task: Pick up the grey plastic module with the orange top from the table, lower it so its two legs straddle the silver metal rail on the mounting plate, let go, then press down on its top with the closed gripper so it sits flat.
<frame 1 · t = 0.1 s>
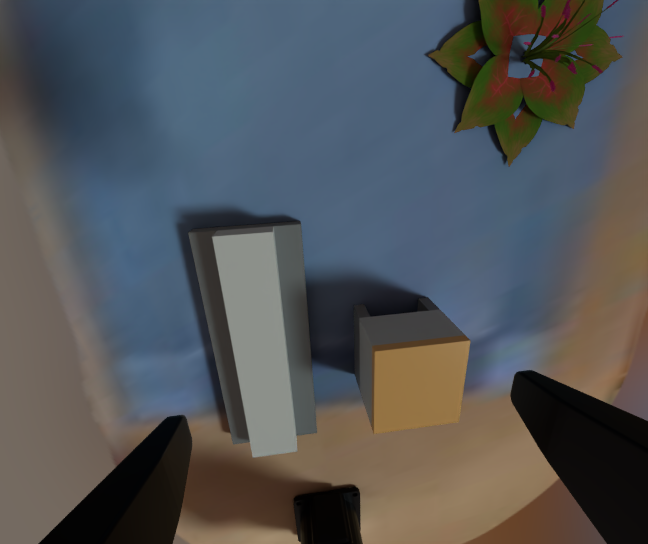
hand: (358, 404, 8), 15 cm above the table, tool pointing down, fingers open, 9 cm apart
module: (390, 337, 25), on the table
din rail: (263, 340, 24), on the table
lily flower: (518, 60, 20), on the table
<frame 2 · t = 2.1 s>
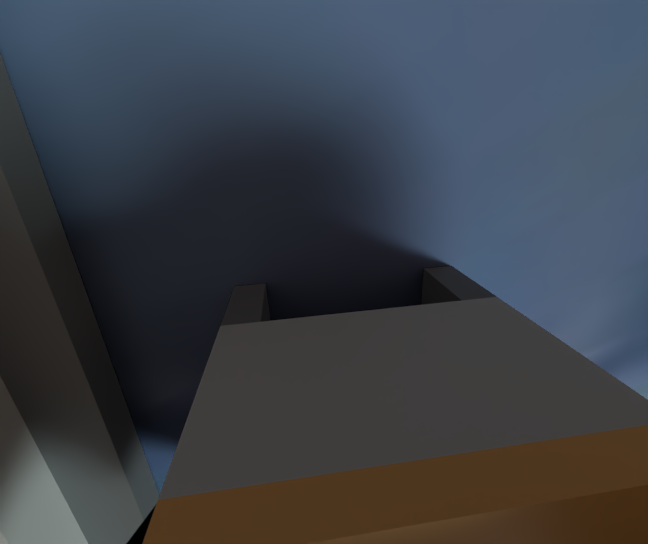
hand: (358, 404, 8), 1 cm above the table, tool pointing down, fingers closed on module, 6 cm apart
module: (349, 374, 10), on the table, touching gripper
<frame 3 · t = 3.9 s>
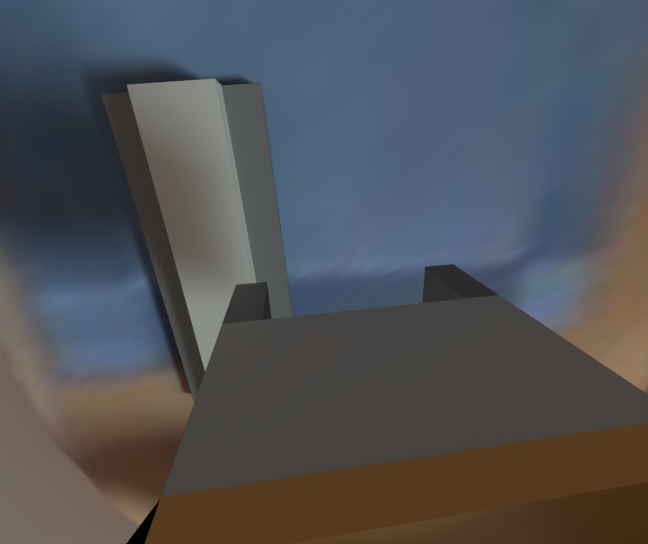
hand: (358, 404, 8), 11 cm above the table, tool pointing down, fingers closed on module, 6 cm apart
module: (350, 372, 10), point 10 cm above the table, touching gripper
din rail: (225, 266, 18), on the table
when the fingers open (3 cm above the table, at t = 5.8 s): module stays where it is, resting on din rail.
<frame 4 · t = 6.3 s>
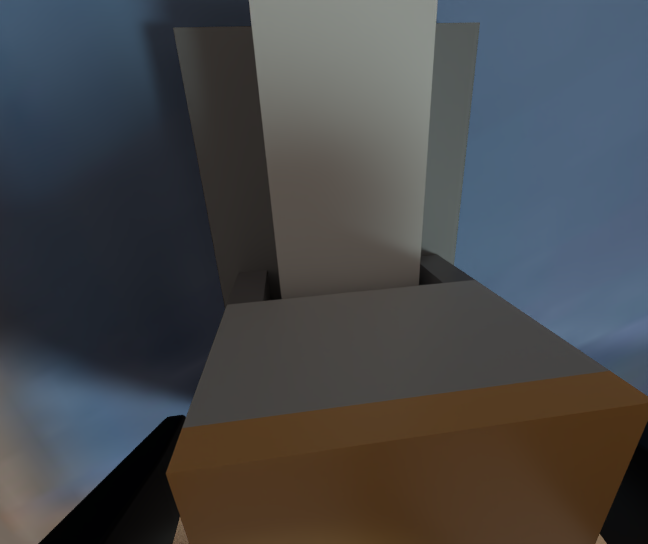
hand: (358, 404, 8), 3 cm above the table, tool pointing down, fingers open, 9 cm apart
module: (344, 355, 10), point 1 cm above the table, touching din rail
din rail: (339, 339, 11), on the table
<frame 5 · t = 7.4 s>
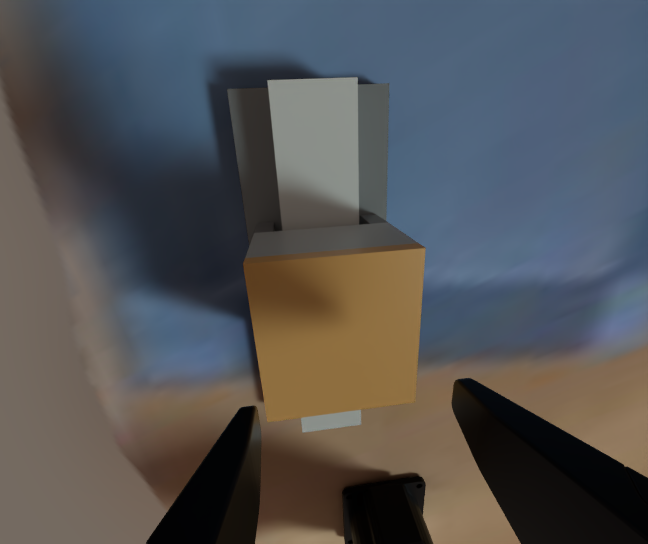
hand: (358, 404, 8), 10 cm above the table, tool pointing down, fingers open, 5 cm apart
module: (321, 278, 17), point 1 cm above the table, touching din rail
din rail: (319, 272, 18), on the table
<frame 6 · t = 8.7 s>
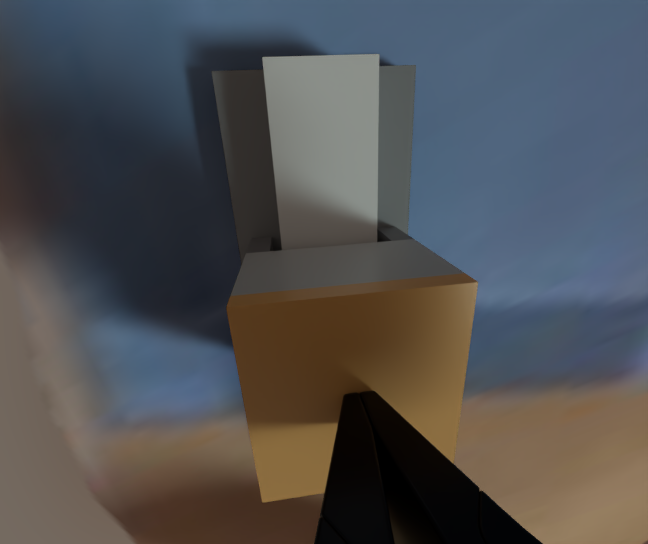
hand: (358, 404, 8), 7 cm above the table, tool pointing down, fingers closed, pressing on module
module: (328, 303, 14), point 1 cm above the table, touching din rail, gripper
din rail: (325, 294, 15), on the table
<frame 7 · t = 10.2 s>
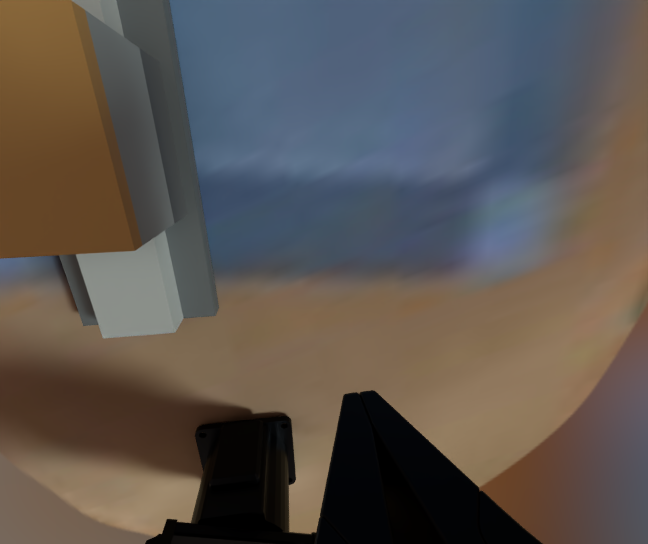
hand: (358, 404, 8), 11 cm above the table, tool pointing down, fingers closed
module: (106, 146, 14), point 1 cm above the table, touching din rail
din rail: (117, 146, 15), on the table
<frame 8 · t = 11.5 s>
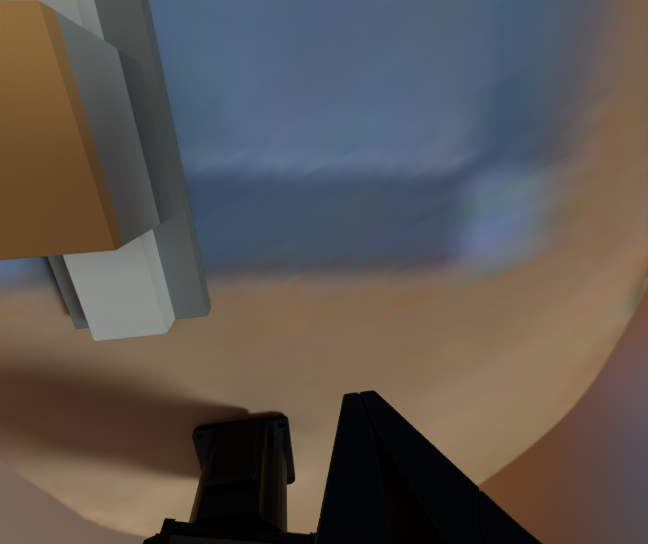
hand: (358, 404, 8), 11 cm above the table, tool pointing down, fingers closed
module: (91, 148, 14), point 1 cm above the table, touching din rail
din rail: (102, 149, 15), on the table
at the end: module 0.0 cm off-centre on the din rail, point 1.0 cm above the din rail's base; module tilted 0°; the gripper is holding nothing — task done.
